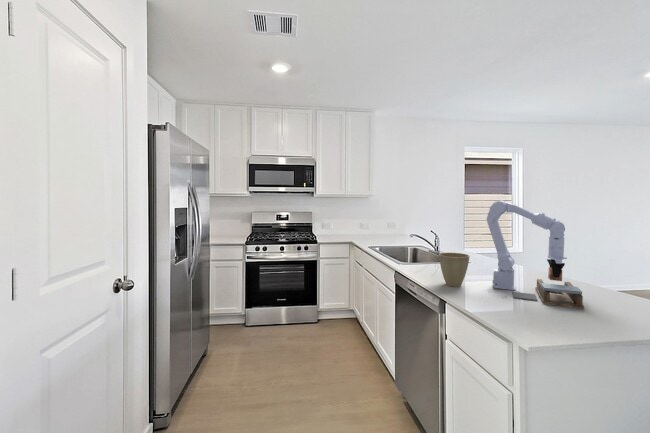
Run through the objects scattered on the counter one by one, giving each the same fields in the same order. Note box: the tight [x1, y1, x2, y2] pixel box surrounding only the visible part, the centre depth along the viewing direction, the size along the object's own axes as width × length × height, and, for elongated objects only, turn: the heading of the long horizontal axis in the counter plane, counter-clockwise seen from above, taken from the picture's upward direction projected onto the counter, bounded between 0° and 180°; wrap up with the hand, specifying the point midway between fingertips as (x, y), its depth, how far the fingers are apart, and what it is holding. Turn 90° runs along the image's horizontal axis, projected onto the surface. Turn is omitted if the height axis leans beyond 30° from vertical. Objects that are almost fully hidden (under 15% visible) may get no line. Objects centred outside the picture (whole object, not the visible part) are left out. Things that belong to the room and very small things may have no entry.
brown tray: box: [535, 278, 585, 309], centre depth 141 cm, size 14×23×5 cm, turn 152°
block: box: [548, 266, 563, 282], centre depth 146 cm, size 4×4×5 cm
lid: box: [541, 282, 583, 296], centre depth 135 cm, size 13×8×1 cm, turn 62°
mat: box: [511, 291, 538, 302], centre depth 143 cm, size 9×9×1 cm
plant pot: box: [438, 252, 471, 288], centre depth 163 cm, size 15×15×16 cm
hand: (555, 275), depth 146 cm, fingers closed on block, 4 cm apart
